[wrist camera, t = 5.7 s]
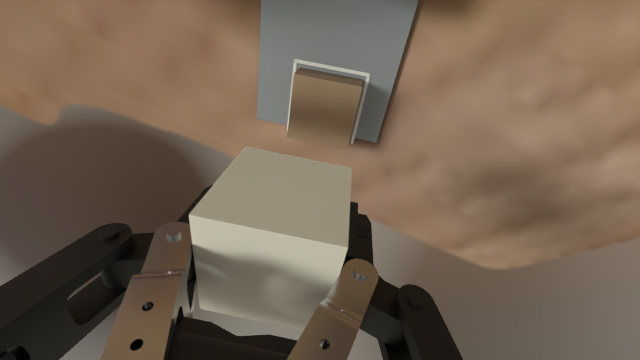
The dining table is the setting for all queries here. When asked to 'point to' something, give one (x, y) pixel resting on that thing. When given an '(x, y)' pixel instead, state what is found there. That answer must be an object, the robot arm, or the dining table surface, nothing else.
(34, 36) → the dining table surface
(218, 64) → the dining table surface
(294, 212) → the cream cube
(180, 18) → the dining table surface
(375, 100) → the board
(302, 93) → the walnut base
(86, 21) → the dining table surface
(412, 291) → the robot arm
